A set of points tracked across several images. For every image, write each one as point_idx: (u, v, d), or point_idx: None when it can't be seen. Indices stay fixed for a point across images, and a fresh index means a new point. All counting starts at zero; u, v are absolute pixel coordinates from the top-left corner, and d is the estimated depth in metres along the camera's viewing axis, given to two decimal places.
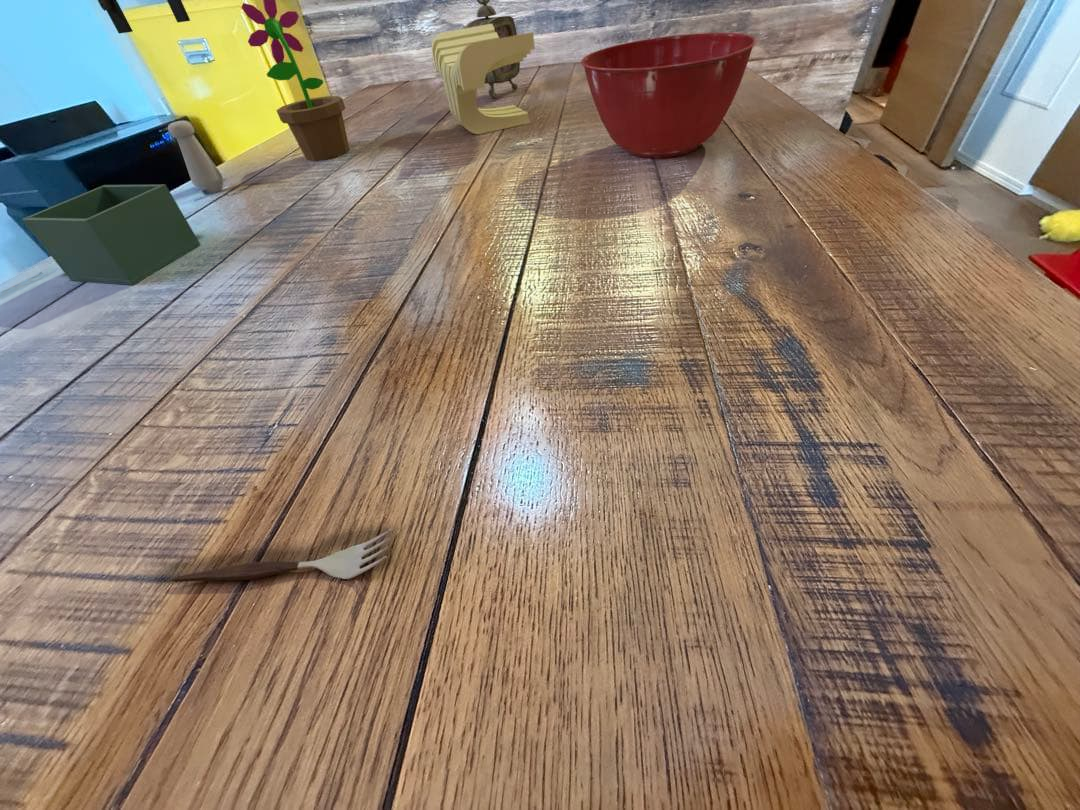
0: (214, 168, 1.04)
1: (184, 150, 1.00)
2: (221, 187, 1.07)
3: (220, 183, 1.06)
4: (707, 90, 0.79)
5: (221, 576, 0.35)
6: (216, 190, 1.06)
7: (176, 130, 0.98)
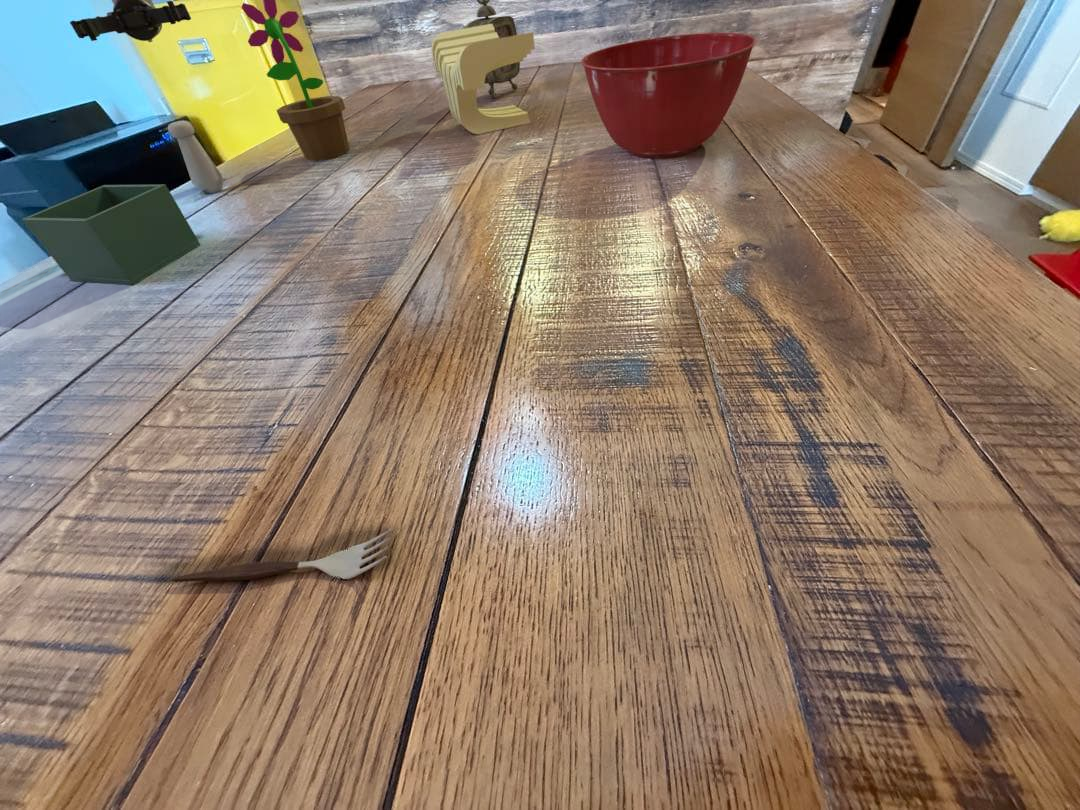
0: (214, 168, 1.04)
1: (184, 150, 1.00)
2: (221, 187, 1.07)
3: (220, 183, 1.06)
4: (708, 90, 0.79)
5: (221, 576, 0.35)
6: (216, 190, 1.06)
7: (176, 130, 0.98)
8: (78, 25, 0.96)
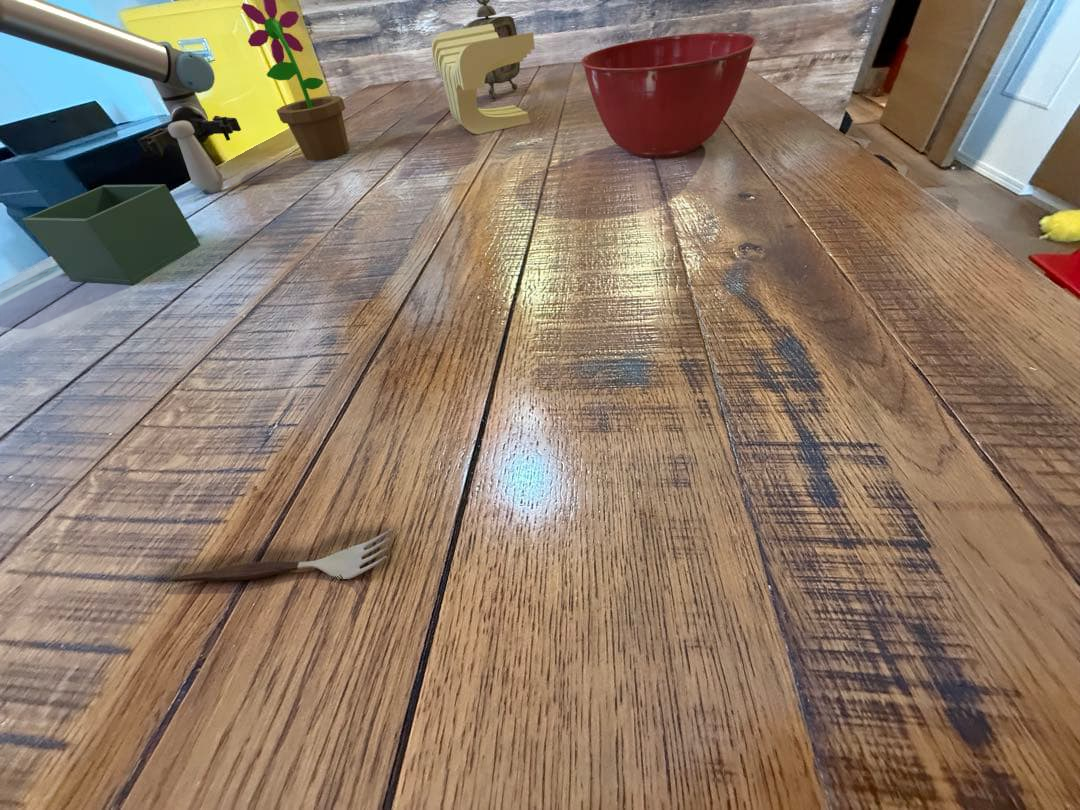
0: (214, 168, 1.04)
1: (184, 150, 1.00)
2: (221, 187, 1.07)
3: (220, 183, 1.06)
4: (708, 90, 0.79)
5: (221, 576, 0.35)
6: (216, 190, 1.06)
7: (176, 130, 0.98)
8: (145, 142, 1.10)
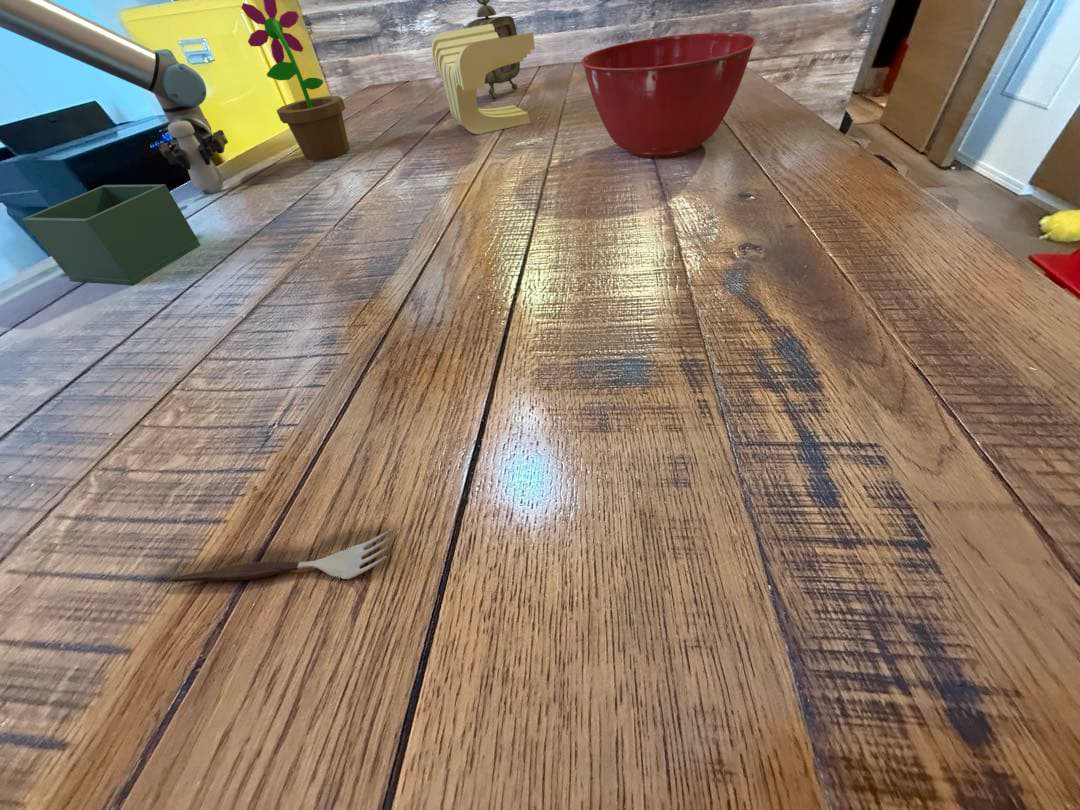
0: (214, 168, 1.04)
1: (184, 150, 1.00)
2: (221, 187, 1.07)
3: (220, 183, 1.06)
4: (708, 90, 0.79)
5: (221, 576, 0.35)
6: (216, 190, 1.06)
7: (176, 130, 0.98)
8: (171, 154, 1.02)
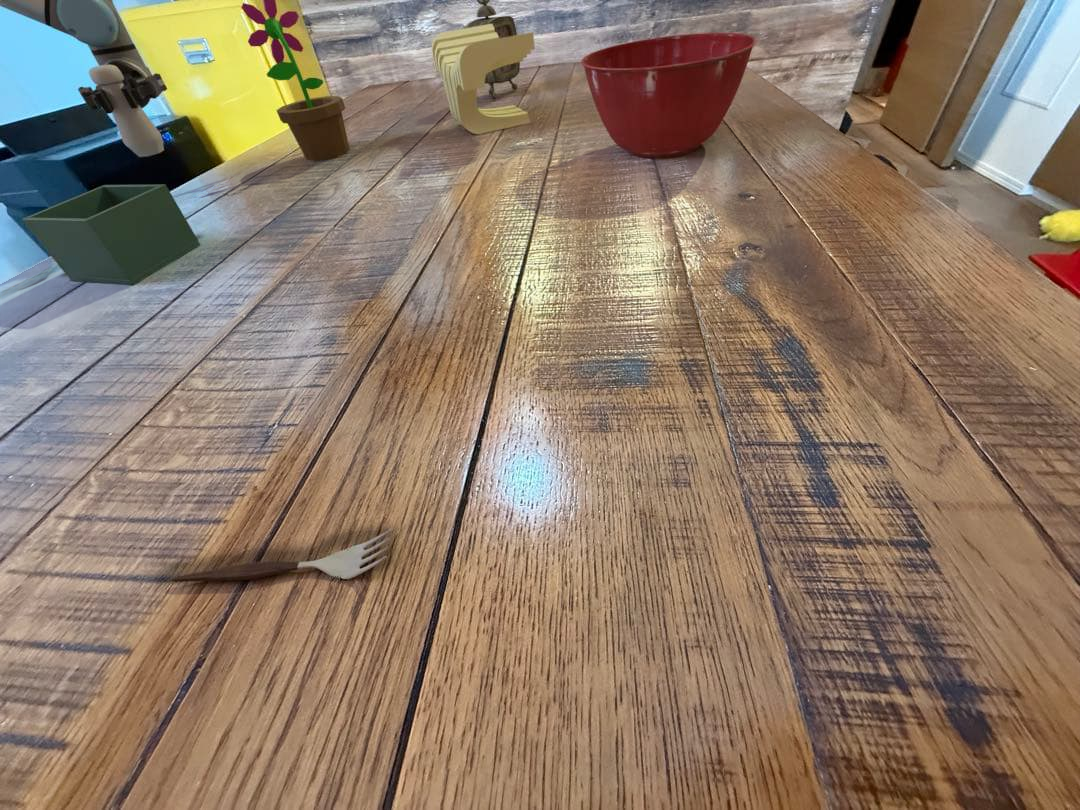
0: (149, 125, 0.87)
1: (110, 101, 0.83)
2: (159, 149, 0.89)
3: (157, 144, 0.88)
4: (708, 90, 0.79)
5: (221, 576, 0.35)
6: (152, 153, 0.88)
7: (97, 76, 0.80)
8: (90, 96, 0.83)
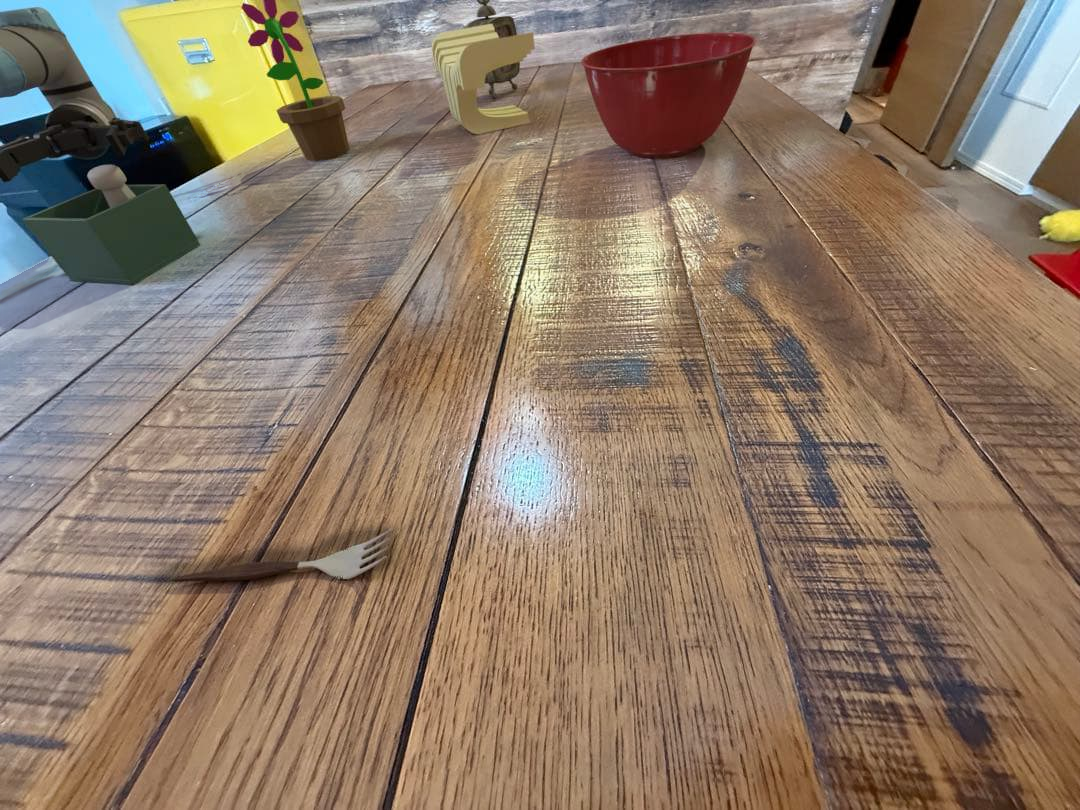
0: None
1: (112, 205, 0.75)
2: None
3: None
4: (708, 90, 0.79)
5: (221, 576, 0.35)
6: None
7: (97, 182, 0.72)
8: None
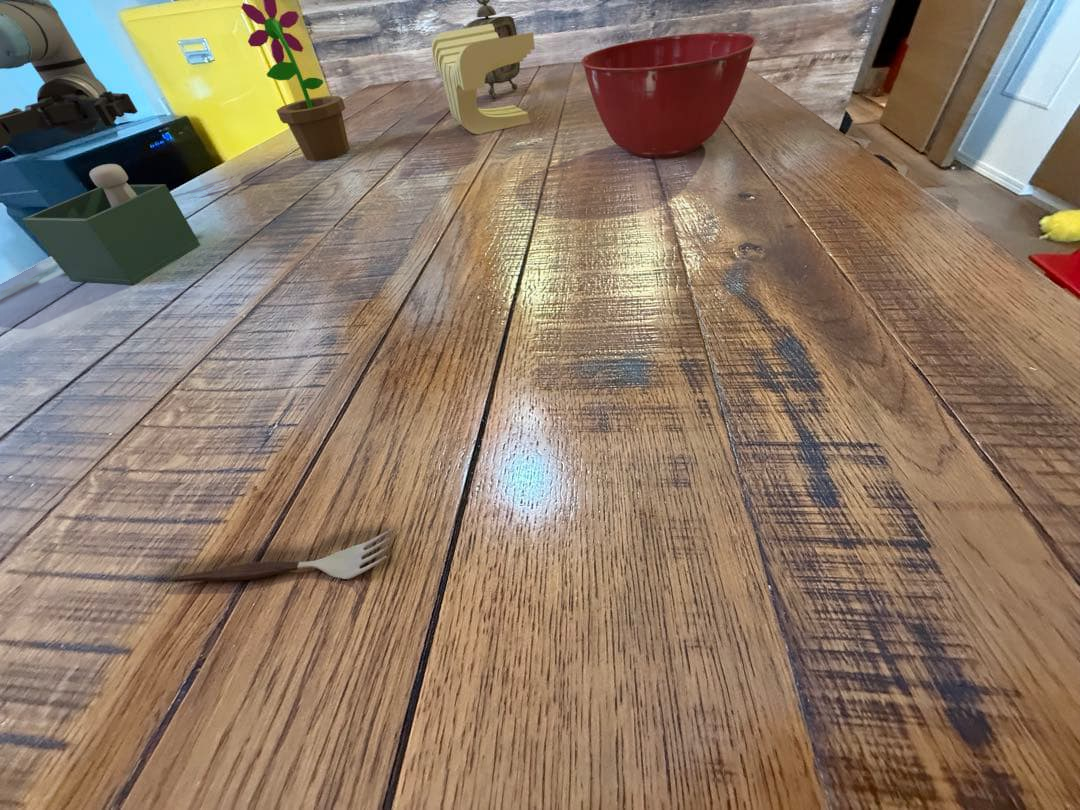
0: None
1: (113, 203, 0.75)
2: None
3: None
4: (708, 90, 0.79)
5: (221, 576, 0.35)
6: None
7: (99, 180, 0.72)
8: None
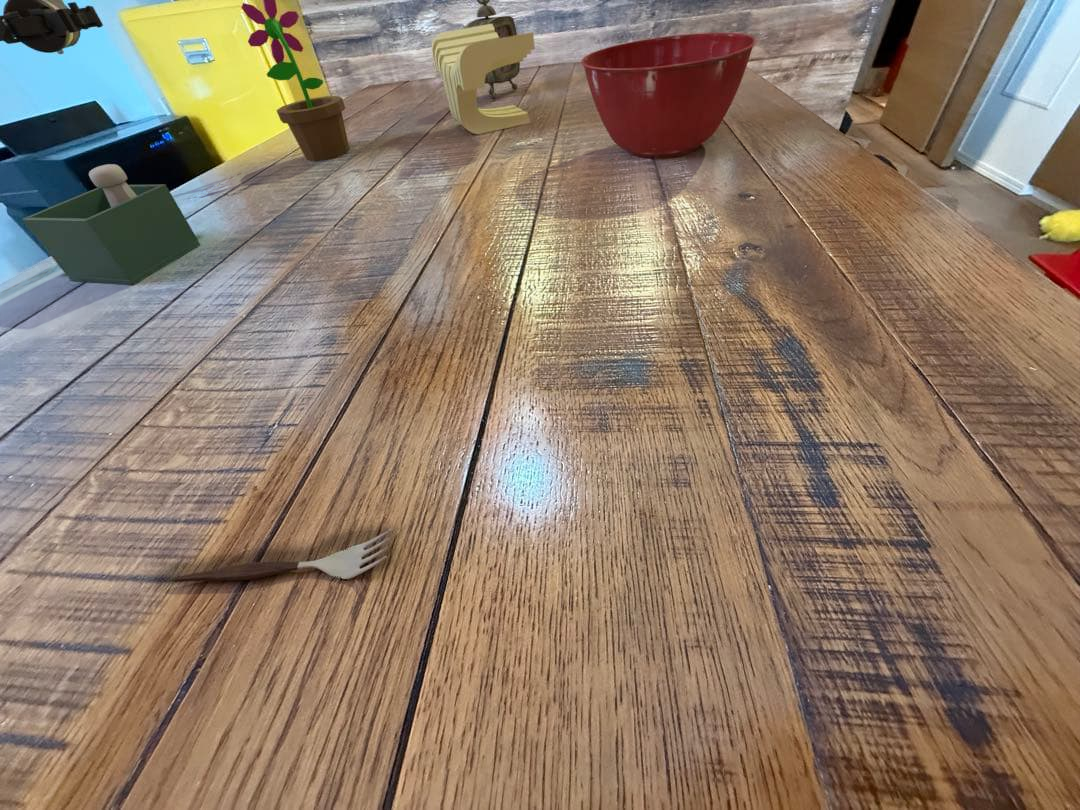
0: None
1: (112, 203, 0.76)
2: None
3: None
4: (708, 90, 0.79)
5: (221, 576, 0.35)
6: None
7: (98, 179, 0.73)
8: None
